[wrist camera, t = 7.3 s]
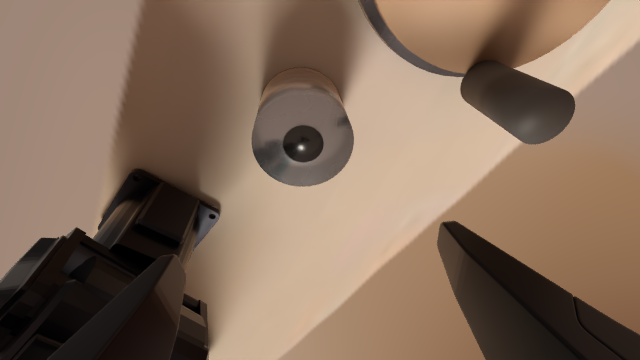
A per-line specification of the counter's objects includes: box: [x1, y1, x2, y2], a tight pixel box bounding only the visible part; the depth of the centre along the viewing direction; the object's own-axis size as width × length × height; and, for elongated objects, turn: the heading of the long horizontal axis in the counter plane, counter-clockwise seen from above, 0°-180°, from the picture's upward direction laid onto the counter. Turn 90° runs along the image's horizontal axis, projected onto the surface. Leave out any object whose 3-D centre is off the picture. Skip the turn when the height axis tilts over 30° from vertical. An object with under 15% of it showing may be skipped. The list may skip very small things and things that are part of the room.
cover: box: [252, 68, 354, 186], centre depth 18 cm, size 5×5×5 cm
